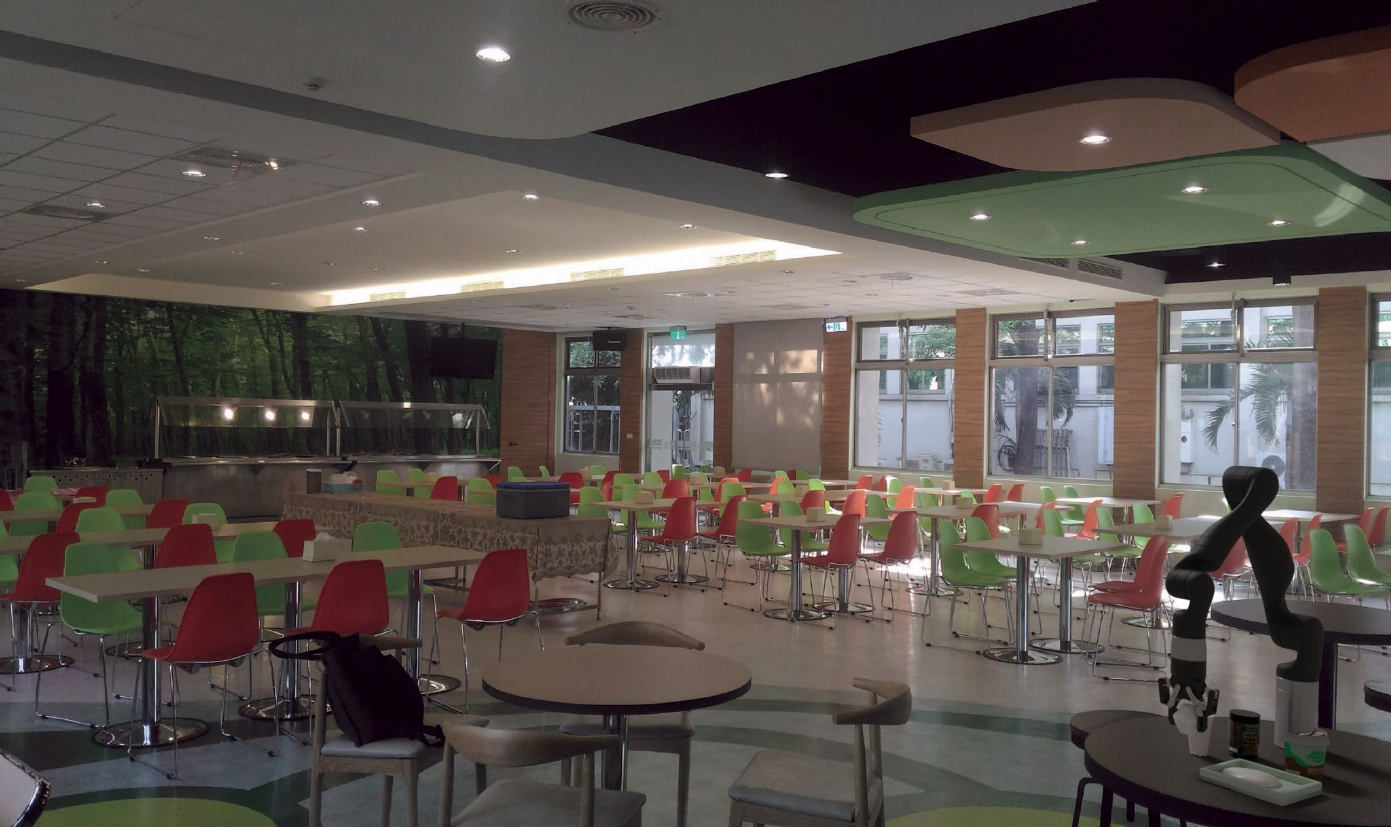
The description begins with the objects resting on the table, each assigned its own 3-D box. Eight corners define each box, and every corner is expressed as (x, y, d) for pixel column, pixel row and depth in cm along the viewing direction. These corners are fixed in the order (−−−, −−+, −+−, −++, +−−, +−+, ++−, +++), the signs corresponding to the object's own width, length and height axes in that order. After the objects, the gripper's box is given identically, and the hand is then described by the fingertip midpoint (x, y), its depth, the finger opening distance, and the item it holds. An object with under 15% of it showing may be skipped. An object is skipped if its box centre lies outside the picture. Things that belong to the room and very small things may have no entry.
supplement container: (1266, 759, 242) (1267, 715, 242) (1246, 762, 239) (1247, 717, 240) (1241, 751, 248) (1242, 708, 248) (1221, 753, 246) (1222, 710, 246)
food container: (1308, 785, 224) (1309, 740, 224) (1281, 776, 230) (1282, 732, 230) (1341, 778, 230) (1342, 734, 230) (1313, 770, 235) (1315, 726, 236)
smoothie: (1216, 759, 240) (1218, 700, 241) (1187, 756, 242) (1189, 698, 242) (1208, 751, 247) (1210, 694, 247) (1180, 748, 248) (1182, 691, 248)
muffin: (1205, 733, 235) (1206, 703, 235) (1197, 739, 230) (1197, 708, 230) (1177, 727, 239) (1178, 697, 239) (1168, 732, 234) (1169, 702, 234)
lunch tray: (1238, 769, 234) (1239, 758, 234) (1321, 794, 219) (1321, 782, 219) (1199, 779, 225) (1199, 768, 225) (1282, 806, 210) (1282, 794, 210)
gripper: (1227, 660, 231) (1226, 734, 231) (1169, 648, 243) (1168, 718, 243) (1209, 664, 227) (1208, 739, 226) (1150, 651, 239) (1149, 722, 239)
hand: (1187, 728), depth 235 cm, fingers closed on muffin, 6 cm apart
